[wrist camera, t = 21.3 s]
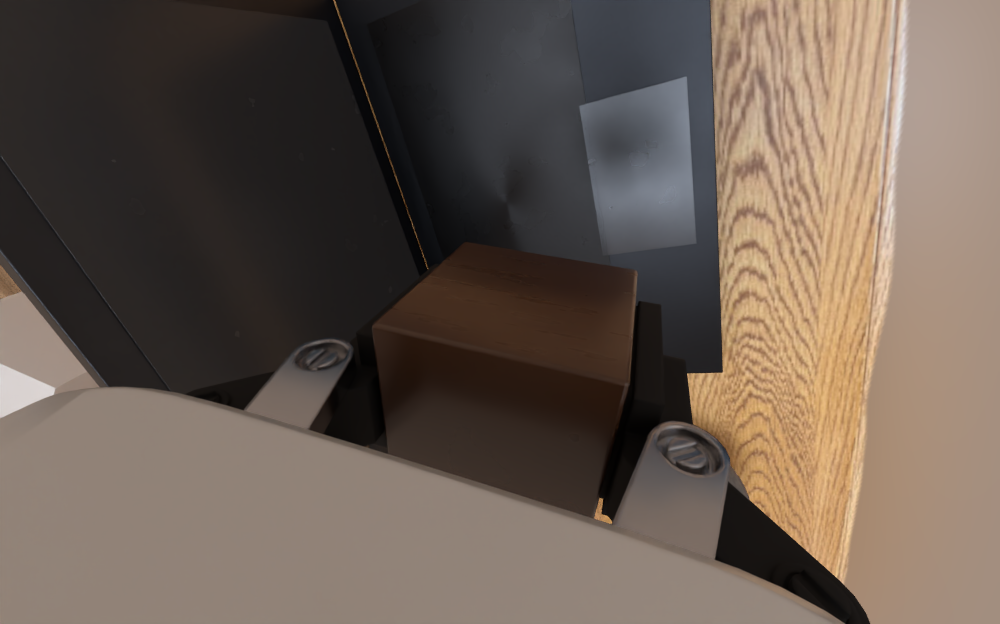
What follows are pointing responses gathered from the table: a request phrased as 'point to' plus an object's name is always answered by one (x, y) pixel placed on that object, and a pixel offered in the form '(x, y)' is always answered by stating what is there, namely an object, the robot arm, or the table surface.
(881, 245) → the table surface
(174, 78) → the laptop screen
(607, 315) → the block
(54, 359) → the block
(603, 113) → the laptop
